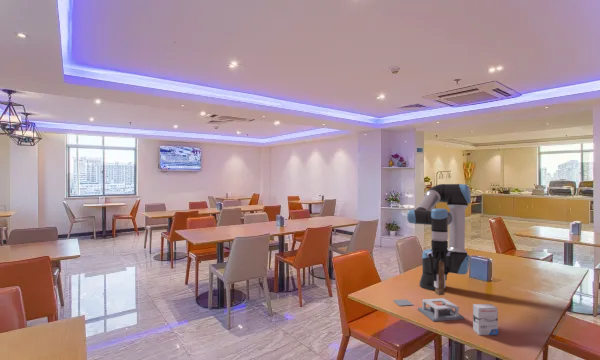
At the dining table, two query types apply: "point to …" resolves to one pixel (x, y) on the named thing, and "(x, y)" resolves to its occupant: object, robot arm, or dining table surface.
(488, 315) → the ink box
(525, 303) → the dining table surface
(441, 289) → the walnut rod
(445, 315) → the white open frame stand
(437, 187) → the robot arm
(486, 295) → the dining table surface
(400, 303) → the mat
